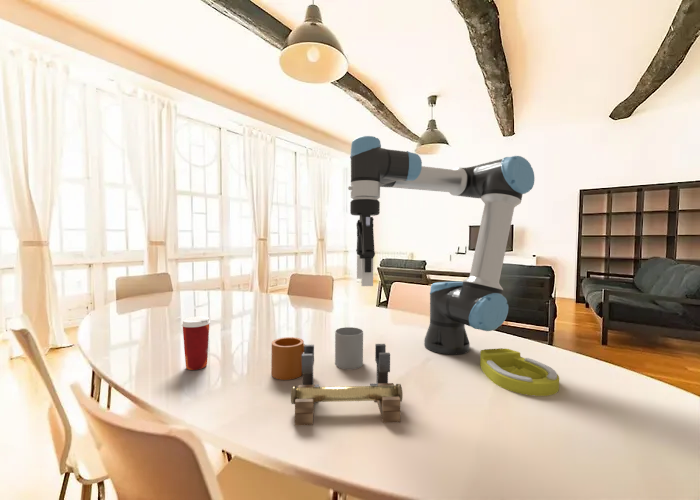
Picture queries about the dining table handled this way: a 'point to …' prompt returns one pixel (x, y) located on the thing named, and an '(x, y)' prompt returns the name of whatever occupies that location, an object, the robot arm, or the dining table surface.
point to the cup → (348, 348)
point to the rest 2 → (389, 407)
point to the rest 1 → (304, 410)
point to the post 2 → (382, 364)
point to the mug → (287, 358)
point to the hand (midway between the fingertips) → (364, 282)
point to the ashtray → (518, 372)
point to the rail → (346, 393)
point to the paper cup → (196, 341)
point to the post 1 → (308, 365)
